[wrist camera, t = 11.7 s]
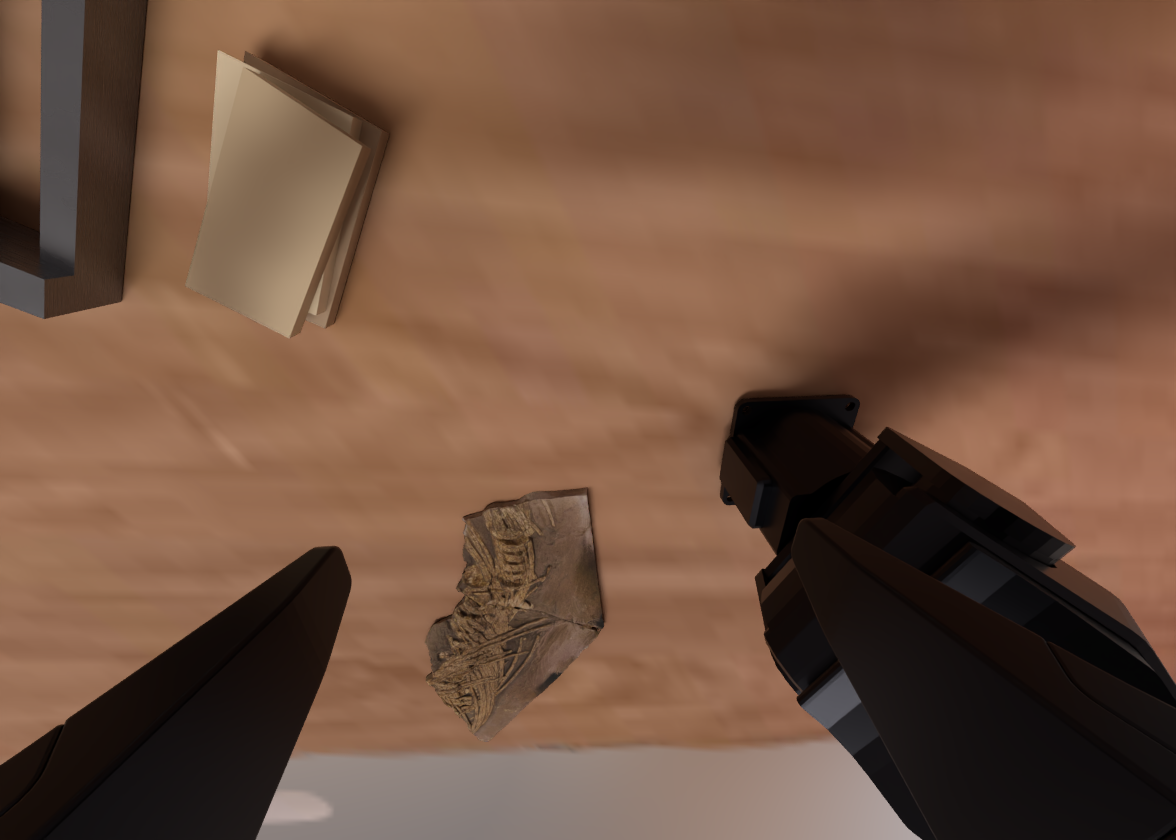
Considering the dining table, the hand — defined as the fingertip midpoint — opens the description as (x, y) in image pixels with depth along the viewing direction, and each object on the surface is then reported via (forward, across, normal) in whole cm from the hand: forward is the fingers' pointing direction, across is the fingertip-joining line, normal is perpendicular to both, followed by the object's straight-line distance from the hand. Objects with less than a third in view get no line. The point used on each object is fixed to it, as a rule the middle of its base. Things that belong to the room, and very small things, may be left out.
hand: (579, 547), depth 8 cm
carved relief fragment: (+14, +4, +20) cm, 25 cm away
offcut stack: (+13, +10, -6) cm, 18 cm away
